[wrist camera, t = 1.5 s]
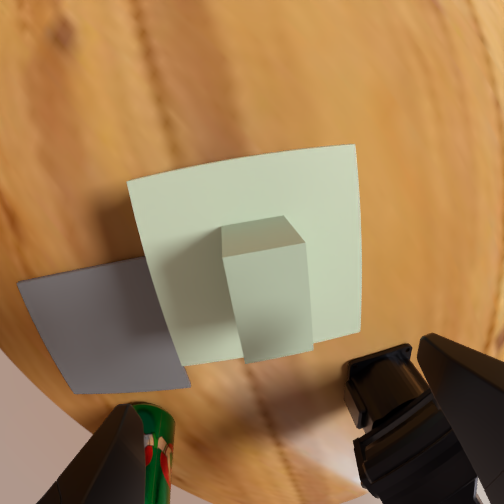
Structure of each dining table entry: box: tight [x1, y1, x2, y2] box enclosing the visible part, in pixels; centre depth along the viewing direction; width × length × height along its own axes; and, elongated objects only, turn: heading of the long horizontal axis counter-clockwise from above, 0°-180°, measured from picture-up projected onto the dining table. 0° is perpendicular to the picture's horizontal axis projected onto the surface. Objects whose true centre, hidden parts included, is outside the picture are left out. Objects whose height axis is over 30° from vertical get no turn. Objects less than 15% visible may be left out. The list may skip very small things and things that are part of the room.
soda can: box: [132, 403, 175, 504], centre depth 20 cm, size 5×5×12 cm
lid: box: [127, 144, 362, 366], centre depth 14 cm, size 11×11×5 cm
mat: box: [17, 256, 191, 394], centre depth 22 cm, size 12×12×1 cm
